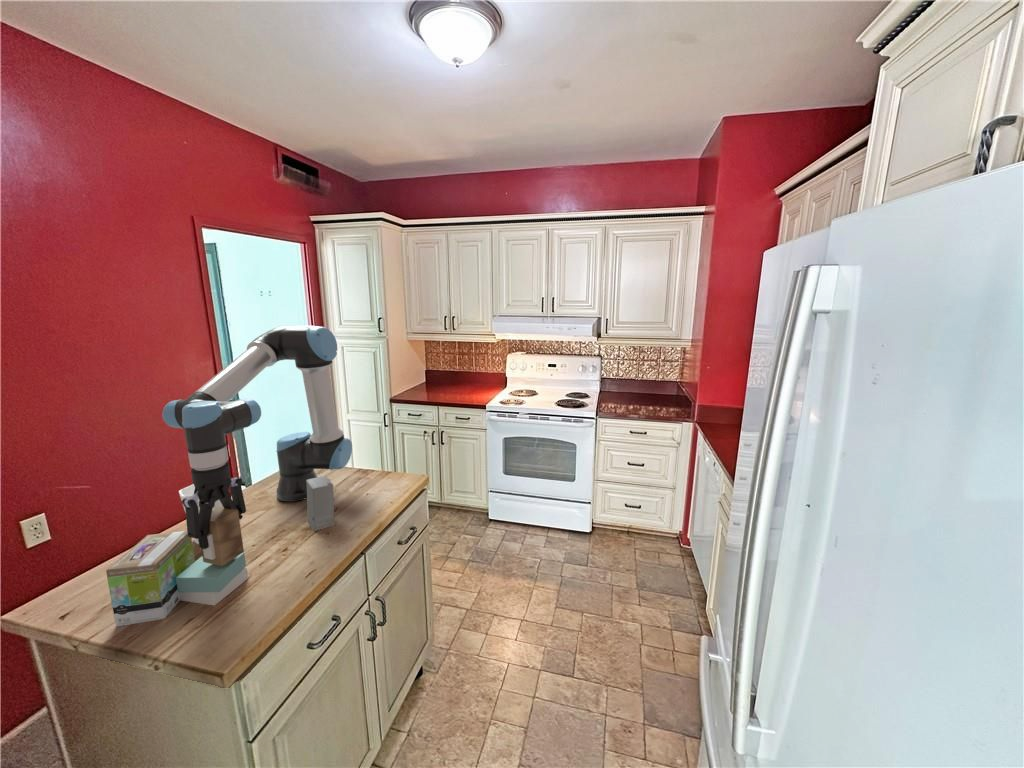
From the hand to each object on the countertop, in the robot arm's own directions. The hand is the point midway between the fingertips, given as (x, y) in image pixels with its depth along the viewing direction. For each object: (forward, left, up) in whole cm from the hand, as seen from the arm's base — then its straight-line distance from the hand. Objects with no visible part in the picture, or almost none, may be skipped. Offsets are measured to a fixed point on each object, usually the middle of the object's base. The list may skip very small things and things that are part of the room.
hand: (222, 550), depth 101 cm
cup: (-16, -27, -11) cm, 33 cm away
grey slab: (+2, -2, -11) cm, 12 cm away
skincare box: (-32, +2, -11) cm, 34 cm away
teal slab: (+2, -2, -7) cm, 8 cm away
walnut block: (0, 0, -2) cm, 2 cm away
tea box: (+8, -12, -11) cm, 18 cm away
